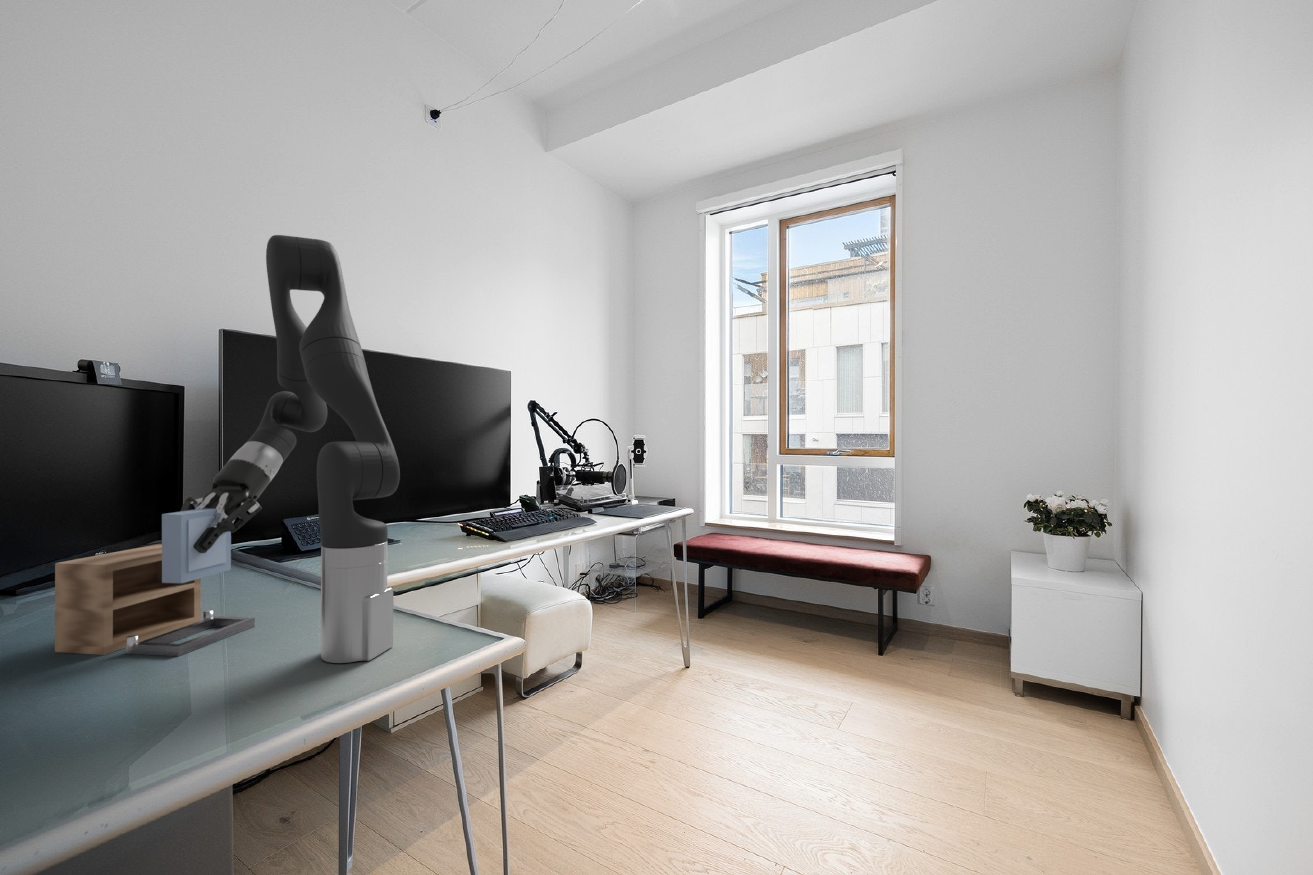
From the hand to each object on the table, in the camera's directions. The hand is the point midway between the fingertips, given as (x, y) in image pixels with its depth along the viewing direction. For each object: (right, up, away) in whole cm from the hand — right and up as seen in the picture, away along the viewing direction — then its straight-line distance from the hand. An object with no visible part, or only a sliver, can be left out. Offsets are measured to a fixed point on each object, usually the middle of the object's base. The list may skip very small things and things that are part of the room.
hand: (187, 549), depth 92 cm
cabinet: (-12, -15, +3) cm, 20 cm away
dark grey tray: (0, -15, +2) cm, 16 cm away
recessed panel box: (0, -5, +2) cm, 5 cm away
